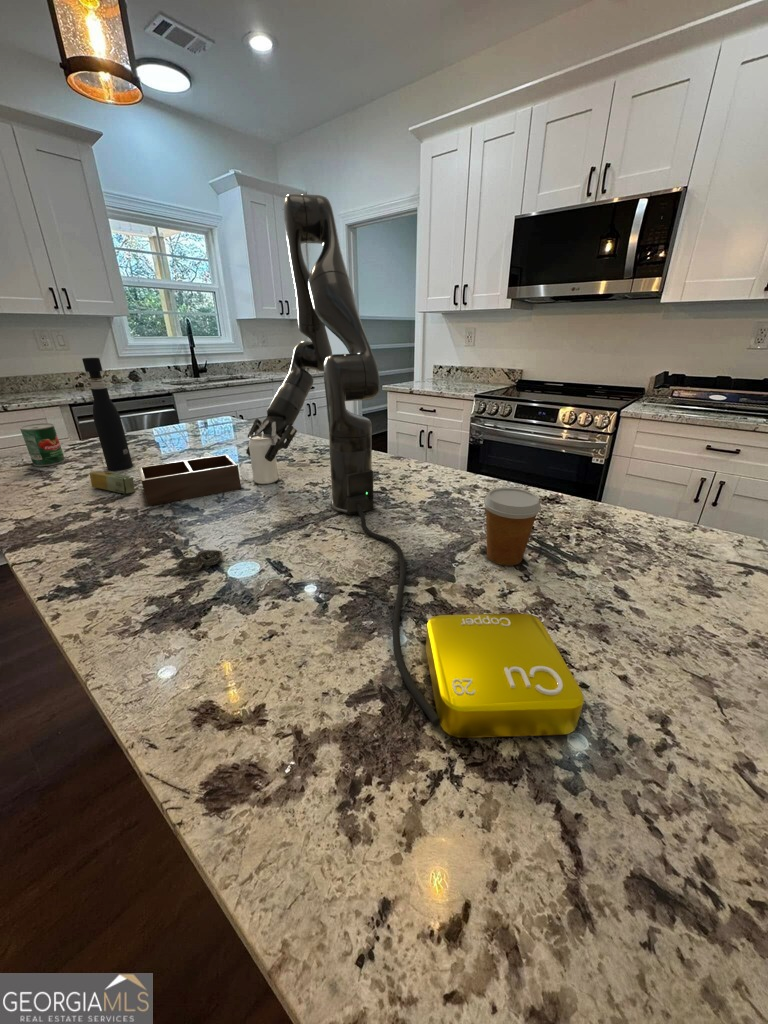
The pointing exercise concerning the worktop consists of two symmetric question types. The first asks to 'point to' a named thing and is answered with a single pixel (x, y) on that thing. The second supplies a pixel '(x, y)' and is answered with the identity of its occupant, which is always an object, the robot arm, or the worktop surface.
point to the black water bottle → (107, 420)
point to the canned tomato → (43, 444)
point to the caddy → (189, 478)
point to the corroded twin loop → (199, 561)
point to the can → (262, 459)
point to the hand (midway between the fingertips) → (258, 457)
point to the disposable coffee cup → (509, 523)
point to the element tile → (499, 677)
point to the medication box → (112, 482)
